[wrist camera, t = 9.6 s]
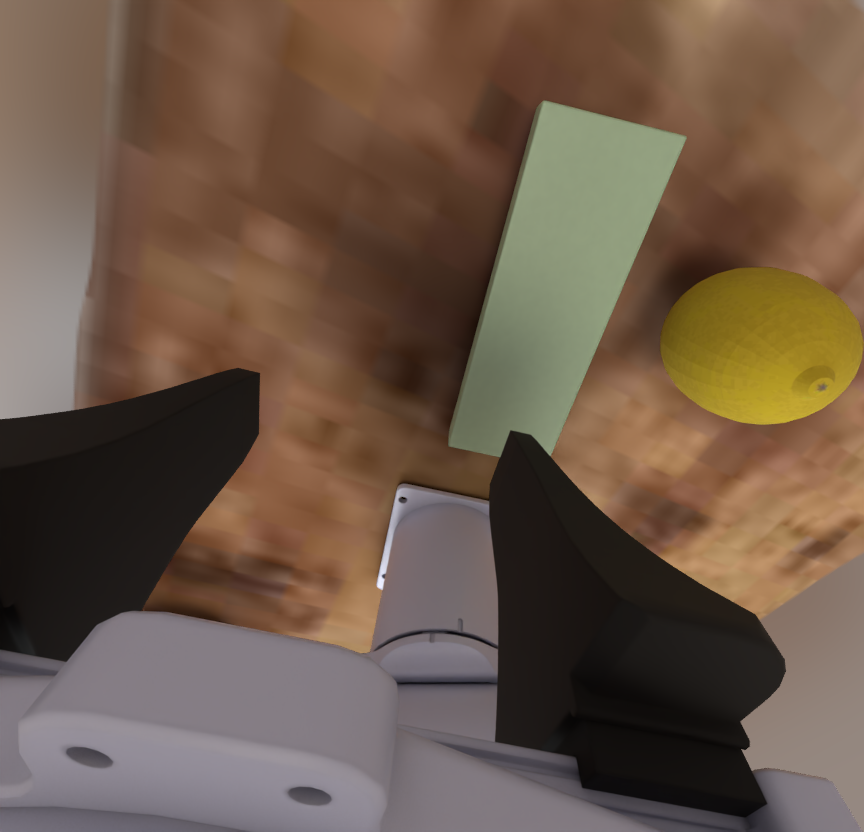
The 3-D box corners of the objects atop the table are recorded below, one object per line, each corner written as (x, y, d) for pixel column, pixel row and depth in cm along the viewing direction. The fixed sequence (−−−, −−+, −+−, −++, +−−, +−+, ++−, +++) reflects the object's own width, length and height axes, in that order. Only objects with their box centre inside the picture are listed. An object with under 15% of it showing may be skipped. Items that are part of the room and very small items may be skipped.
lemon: (790, 284, 19) (982, 345, 12) (703, 386, 21) (819, 485, 14) (686, 230, 18) (826, 262, 11) (610, 343, 21) (684, 426, 14)
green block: (537, 435, 23) (546, 467, 21) (449, 416, 23) (447, 446, 21) (653, 142, 17) (688, 136, 14) (530, 112, 16) (542, 99, 14)
